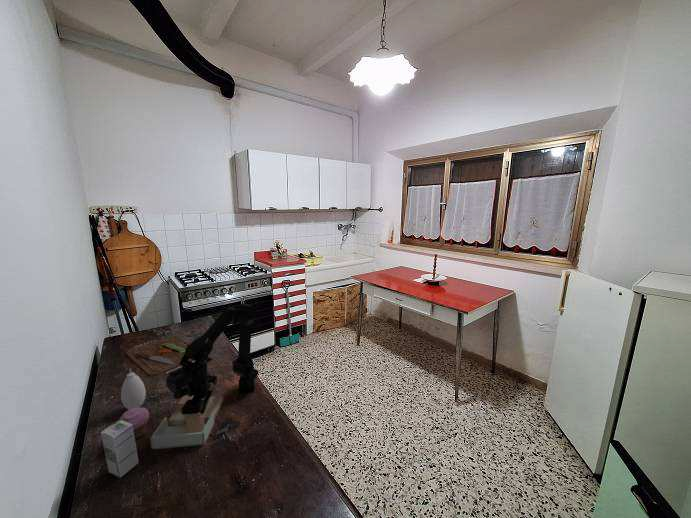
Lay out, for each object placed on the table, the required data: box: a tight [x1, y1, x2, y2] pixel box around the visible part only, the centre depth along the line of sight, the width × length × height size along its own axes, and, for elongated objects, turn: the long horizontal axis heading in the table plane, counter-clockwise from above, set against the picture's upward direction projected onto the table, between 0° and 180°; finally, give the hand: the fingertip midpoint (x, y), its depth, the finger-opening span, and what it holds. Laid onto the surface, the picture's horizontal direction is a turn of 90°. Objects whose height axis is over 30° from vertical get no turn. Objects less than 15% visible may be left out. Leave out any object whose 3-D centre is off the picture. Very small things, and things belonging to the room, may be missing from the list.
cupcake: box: [119, 407, 150, 440], centre depth 96 cm, size 9×9×10 cm
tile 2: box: [186, 414, 205, 433], centre depth 99 cm, size 5×5×3 cm
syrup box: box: [100, 419, 139, 478], centre depth 84 cm, size 6×6×14 cm
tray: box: [149, 413, 215, 451], centre depth 97 cm, size 17×10×4 cm, turn 97°
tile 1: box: [177, 395, 194, 411], centre depth 108 cm, size 5×5×3 cm
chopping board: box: [125, 335, 194, 377], centre depth 153 cm, size 45×27×3 cm, turn 54°
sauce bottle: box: [120, 368, 147, 410], centre depth 109 cm, size 8×8×18 cm
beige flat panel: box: [167, 395, 224, 426], centre depth 108 cm, size 16×12×2 cm
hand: (202, 413), depth 103 cm, fingers closed
